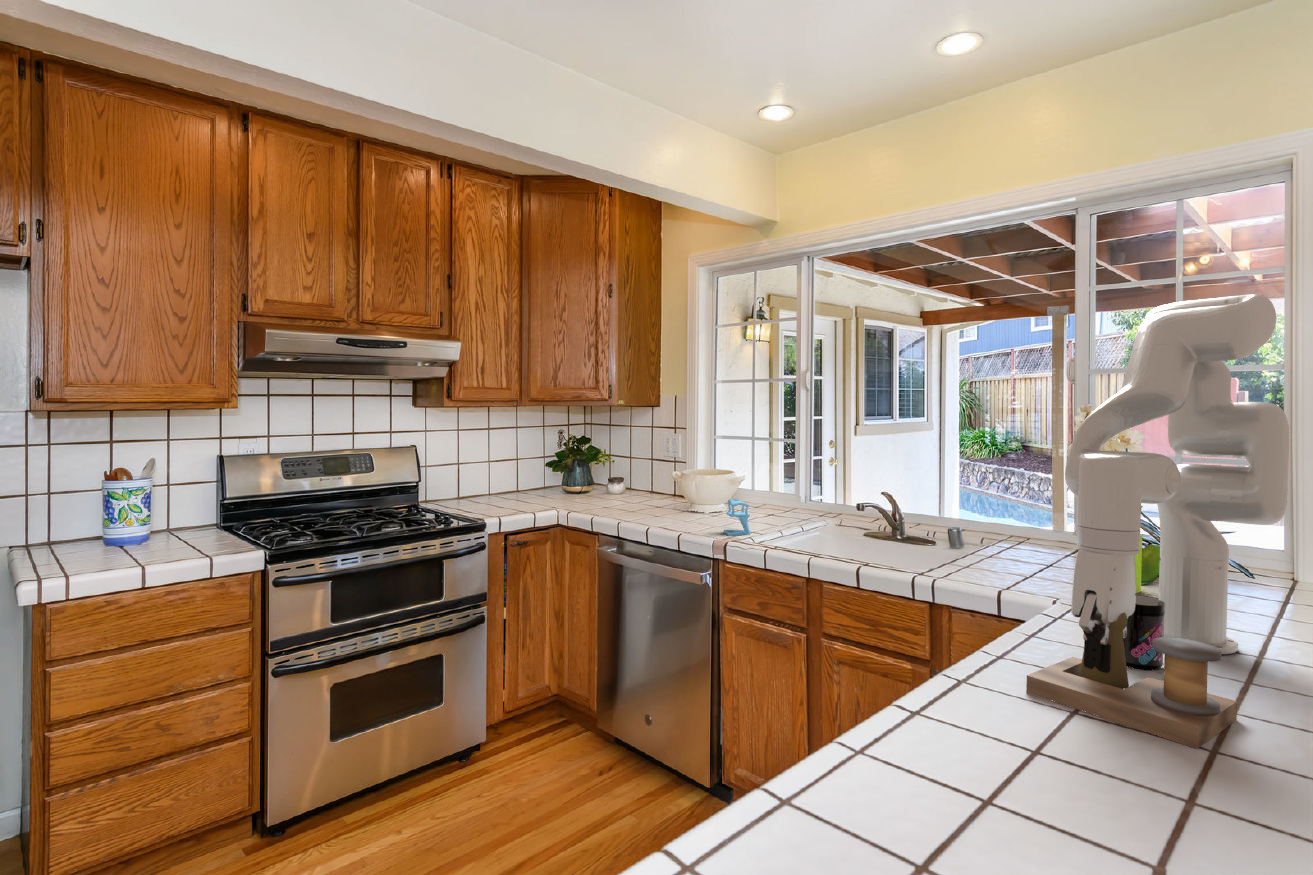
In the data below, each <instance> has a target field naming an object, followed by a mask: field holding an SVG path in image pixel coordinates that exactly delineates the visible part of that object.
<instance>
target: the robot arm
mask: <svg viewBox="0 0 1313 875" xmlns="http://www.w3.org/2000/svg"><path fill="white" fill-rule="evenodd" d="M1276 324H1277V313H1276V308H1275V306H1274V303H1273V302H1272V301H1271V299H1269V298H1268V297H1267V296H1265V295H1263V294H1259V293H1253V294H1252V293H1251V294H1241V295H1233V296H1223V297H1216V298H1215V297H1214V298H1203V299H1193V300H1183V301H1178V302H1171V303H1168V304H1167V303H1166V304H1162V305H1159V306H1157V307H1155V308H1153V309H1151V310H1149V311H1148V312H1147V313H1146V315H1145V318H1144V320H1143V321H1142V322H1141V324H1140V325H1139V327H1138V329H1137V333H1136V335H1135V338H1134V342H1133V346H1132V348H1131V352H1130V356H1129V360H1128V363H1127V367H1126V370H1125V374H1124V377H1123V380H1122V383H1121V384H1122V385H1121V388H1120V390H1119V391H1118V392H1117V393H1116V394H1114V395H1112V396H1110V397H1109V398H1108V399H1106V400H1105V401H1104V402H1102V403H1101V404H1100V405H1099V406H1098V407H1096V408H1095V409H1094V410H1093V411H1092V412H1091V413H1089V414H1088V415H1087V417H1085V419H1083V421H1081V423H1080V424H1079V426H1078V427H1077V429H1076V431H1075V433H1074V435H1073V438H1072V442H1071V445H1070V449H1069V452H1068V454H1067V455H1068V456H1067V459H1066V465H1065V469H1064V478H1065V484H1066V487H1067V488H1068V490H1069V491H1070V492H1072V494H1074V495H1076V496H1077V497H1078V498H1077V499H1078V500H1077V501H1078V502H1077V504H1078V505H1077V531H1076V532H1077V535H1076V536H1077V537H1076V538H1077V539H1076V548H1077V549H1078V552H1077V554H1076V560H1075V563H1074V564H1075V565H1074V571H1073V579H1072V580H1073V581H1072V594H1071V609H1070V612H1071V614H1072V616H1073V617H1075V618H1079V620H1078V626H1079V627H1080V629H1082V632H1083V636H1082V638H1083V640H1084V641H1083V642H1084V643H1083V652H1084V666H1085V667H1086V668H1090V669H1093V668H1094V667H1096V668H1097V669H1098V670H1099V671H1101V672H1104V673H1108V672H1110V660H1111V645H1110V644H1108V638H1109V629H1110V623H1111V622H1114V621H1117V619H1118V617H1119V616H1120V615H1121V614H1122V613H1125V614H1126V616H1127V621H1128V617H1129V616H1130V615H1132V614H1133V613H1134V611H1135V604H1136V595H1137V593H1136V566H1135V555H1136V554H1139V553H1140V534H1141V520H1142V519H1141V518H1142V517H1141V515H1142V508H1141V506H1142V504H1147V505H1148V504H1149V505H1150V504H1151V505H1154V504H1156V505H1157V510H1158V516H1159V532H1160V534H1159V535H1160V536H1159V540H1160V542H1159V570H1158V572H1159V574H1158V575H1159V577H1158V600H1160V601H1163V602H1164V603H1165V614H1164V637H1171V638H1181V639H1188V640H1193V641H1198V642H1202V643H1205V644H1209V645H1212V646H1214V647H1216V648H1218V649H1220V650H1221V652H1222V655H1230V654H1234V653H1237V652H1239V645H1238V642H1237V641H1235V640H1234V639H1233V638H1229V637H1227V629H1228V628H1227V624H1228V622H1227V621H1228V598H1229V597H1228V594H1229V593H1228V590H1229V589H1228V588H1229V564H1230V561H1229V559H1230V558H1229V556H1230V549H1229V545H1228V543H1227V541H1226V539H1225V537H1224V536H1223V534H1222V533H1221V532H1220V531H1219V530H1218V529H1217V527H1216V526H1215V525H1214V524H1213V523H1212V522H1226V523H1233V524H1234V523H1236V524H1244V525H1245V524H1247V525H1258V526H1270V525H1274V524H1276V523H1279V522H1280V521H1282V519H1283V518H1284V516H1285V514H1286V510H1287V506H1288V505H1287V504H1288V492H1289V491H1288V490H1289V488H1288V486H1289V461H1290V460H1289V459H1290V426H1289V421H1288V417H1287V415H1286V412H1285V411H1284V410H1283V408H1281V407H1280V406H1279V405H1276V404H1275V403H1271V402H1265V401H1233V400H1232V398H1231V397H1232V396H1231V394H1232V373H1231V371H1230V369H1229V368H1228V366H1227V365H1226V363H1225V362H1224V361H1236V360H1241V359H1244V358H1247V357H1248V356H1250V355H1251V354H1253V353H1255V352H1256V351H1258V350H1259V349H1260V348H1261V347H1263V346H1264V345H1265V344H1267V342H1269V340H1270V339H1271V337H1272V336H1273V333H1274V331H1275V328H1276ZM1165 416H1168V417H1167V420H1168V421H1167V438H1168V443H1169V444H1168V445H1169V446H1170V448H1171V449H1172V451H1174V453H1177V454H1178V455H1179V454H1180V455H1184V456H1190V457H1191V456H1192V457H1204V458H1226V459H1230V458H1231V459H1243V460H1246V461H1247V462H1248V464H1249V466H1234V465H1232V466H1231V465H1221V464H1203V463H1202V464H1201V463H1182V464H1177V463H1175V461H1174V460H1173V459H1171V458H1170V457H1168V456H1167V455H1164V454H1161V453H1155V452H1141V451H1140V452H1139V451H1137V452H1136V451H1125V450H1124V451H1123V450H1121V451H1120V450H1116V451H1115V450H1101V449H1102V448H1103V447H1104V446H1105V445H1106V444H1107V442H1108V441H1109V440H1111V438H1114V437H1115V436H1117V435H1118V434H1120V433H1122V432H1123V431H1126V430H1128V429H1131V428H1134V427H1137V426H1140V425H1143V424H1147V423H1148V422H1152V421H1155V420H1157V419H1160V418H1163V417H1165ZM1095 615H1096V616H1101V617H1102V618H1100V619H1101V620H1102V621H1100V620H1095V619H1094V617H1095ZM1127 623H1128V622H1127ZM1095 624H1097V625H1101V626H1102V631H1100V629H1099V627H1096V626H1095ZM1122 634H1123V642H1124V650H1125V647H1126V639H1124V638H1125V637H1126V635H1127V627H1126V628H1125V629H1124V630H1123V631H1122Z"/></svg>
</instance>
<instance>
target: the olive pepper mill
mask: <svg viewBox="0 0 1313 875" xmlns="http://www.w3.org/2000/svg"><path fill="white" fill-rule="evenodd" d="M1100 618H1102V617H1101V616H1096V615H1095V617H1094V619H1095V620H1100V621H1102V620H1101V619H1100ZM1126 625H1127V616H1126V614H1125V613H1122V614H1121V615H1120V616H1119V617H1118V619H1117V621H1114V622H1111V623H1110V629H1109V638H1108V644H1110V645H1111V660H1110V672H1108V673H1104V672H1101V671H1099V670H1098V669H1097V668H1096V667H1094V668H1093V669H1090V668H1086V667H1085V666H1084V651H1083V652H1082V658H1081V659H1082V663H1081V668H1080V674H1079V676H1080V677H1083V678H1087V679H1090V680H1094V681H1097V682H1100V683H1104V684H1107V685H1111V686H1114V687H1118V688H1121V689H1126V688H1128V687H1130V684H1129V676H1128V667H1126V659H1125V650H1124V642H1123V634H1122V631H1123V630H1124V629H1125V628H1126ZM1095 626H1096V627H1099V629H1100V631H1102V626H1101V625H1097V624H1095Z"/></svg>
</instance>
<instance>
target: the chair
mask: <svg viewBox="0 0 1313 875" xmlns="http://www.w3.org/2000/svg"><path fill="white" fill-rule="evenodd" d="M740 505H741V511H737V512H735V507H737V506H740ZM727 506H728V511H726V515H727V516H729V517H730V518H736V519H737V518H738V520H739V521H740V524H741V525H742V528H743V529H723V533H724V534H725V535H727V536H728V537H732V536H734V537H735V536H745V535H746V536H749V535H751V530H750V526H749V522H748V520H749V518H750V517H751V515H750V514H749V512H748V510H749V506H750V503H746V502H743V500H739V499H737V498H736V499H735V498H734V499H732V498H730V499H729V500H728V501H727ZM745 507H746V508H745Z"/></svg>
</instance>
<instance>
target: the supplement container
mask: <svg viewBox="0 0 1313 875" xmlns="http://www.w3.org/2000/svg"><path fill="white" fill-rule="evenodd" d="M1164 614H1165V603H1164V602H1163V601H1160V600H1159V598H1158V599H1157V598H1155V597H1148V596H1143V595H1137V594H1136V604H1135V611H1134V613H1133V614H1132V615H1130V616H1129V617H1128V621H1127V622H1128V623H1127V625H1126V627H1127V635H1126V637H1125V638H1124V639H1126V647H1125V659H1126V667H1127V668H1130V669H1133V668H1134V670H1138V669H1139V670H1140V671H1148V670H1149V671H1152V670H1153V671H1158V670H1160V669H1161V668H1162V667H1163V666H1164V654H1163V653H1160V652H1158V651H1156V650H1155V649H1154V648H1153V647H1152V646H1153V639H1155V638H1160V637H1164Z"/></svg>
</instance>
